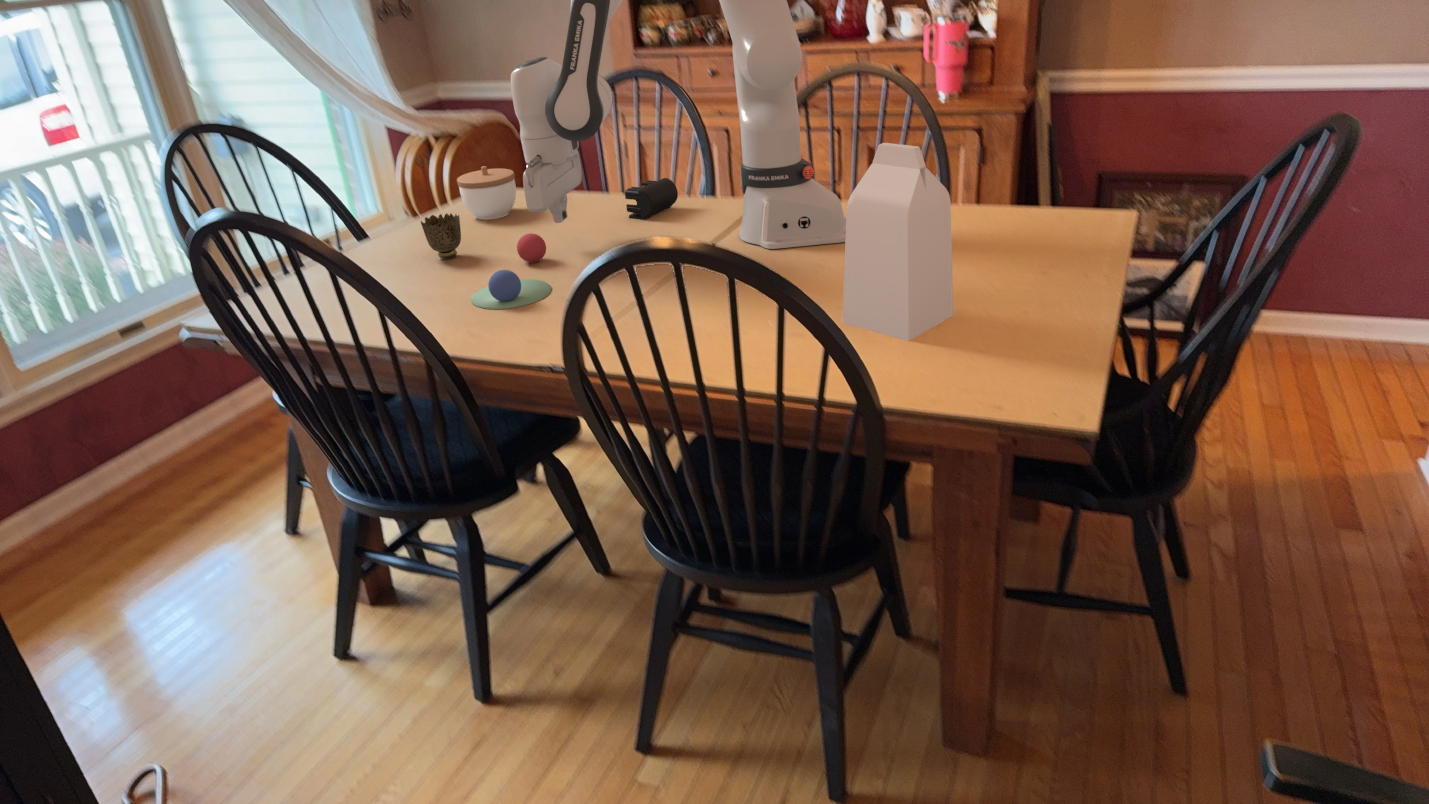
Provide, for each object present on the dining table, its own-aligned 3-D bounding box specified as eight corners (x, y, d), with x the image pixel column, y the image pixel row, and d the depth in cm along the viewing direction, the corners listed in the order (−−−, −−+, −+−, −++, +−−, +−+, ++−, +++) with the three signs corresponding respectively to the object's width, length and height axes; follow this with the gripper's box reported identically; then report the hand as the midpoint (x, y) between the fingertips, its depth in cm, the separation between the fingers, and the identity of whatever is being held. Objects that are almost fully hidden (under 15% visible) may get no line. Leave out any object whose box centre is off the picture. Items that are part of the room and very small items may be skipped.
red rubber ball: (519, 236, 177) (540, 258, 178) (535, 223, 181) (556, 244, 182) (506, 251, 181) (527, 272, 182) (522, 237, 185) (543, 258, 186)
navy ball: (523, 307, 165) (527, 278, 167) (512, 293, 160) (517, 264, 162) (492, 307, 166) (497, 278, 167) (481, 293, 161) (486, 263, 162)
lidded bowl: (532, 209, 217) (524, 161, 212) (493, 225, 208) (484, 175, 203) (492, 205, 223) (483, 158, 218) (453, 221, 214) (442, 172, 209)
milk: (842, 322, 144) (838, 150, 133) (887, 299, 151) (888, 133, 139) (908, 341, 137) (910, 159, 125) (953, 315, 143) (959, 141, 132)
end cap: (653, 222, 201) (649, 190, 198) (626, 219, 204) (622, 188, 201) (680, 209, 208) (676, 178, 205) (653, 206, 212) (650, 176, 209)
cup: (457, 263, 186) (448, 223, 182) (422, 263, 188) (413, 224, 184) (473, 251, 193) (465, 212, 189) (439, 251, 194) (431, 213, 190)
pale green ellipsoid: (560, 279, 173) (560, 278, 173) (537, 308, 160) (537, 307, 160) (487, 281, 175) (487, 280, 175) (459, 310, 163) (458, 309, 163)
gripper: (541, 162, 170) (556, 237, 176) (581, 135, 187) (593, 204, 194) (509, 164, 171) (525, 238, 178) (551, 138, 189) (564, 206, 195)
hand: (561, 220), depth 186 cm, fingers closed
